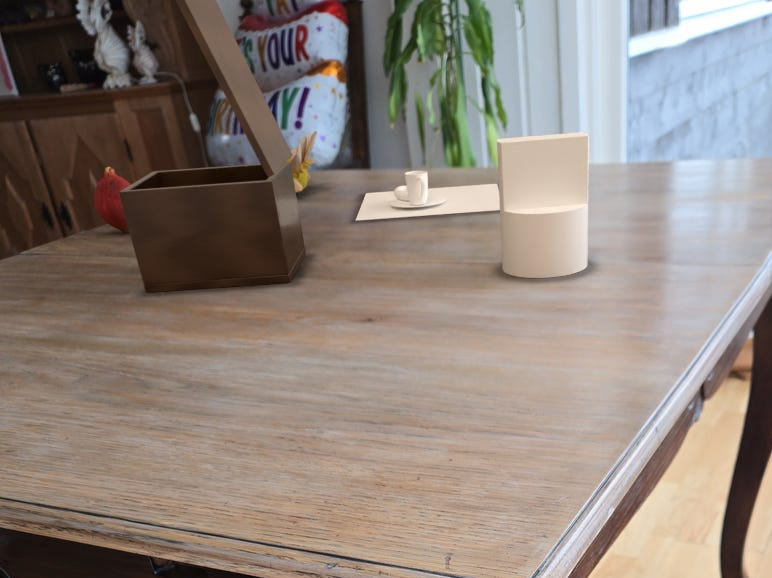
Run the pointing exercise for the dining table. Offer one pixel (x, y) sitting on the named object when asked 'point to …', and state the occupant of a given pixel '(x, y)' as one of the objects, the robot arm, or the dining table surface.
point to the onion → (111, 200)
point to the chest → (214, 227)
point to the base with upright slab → (544, 204)
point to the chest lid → (237, 82)
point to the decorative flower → (302, 161)
